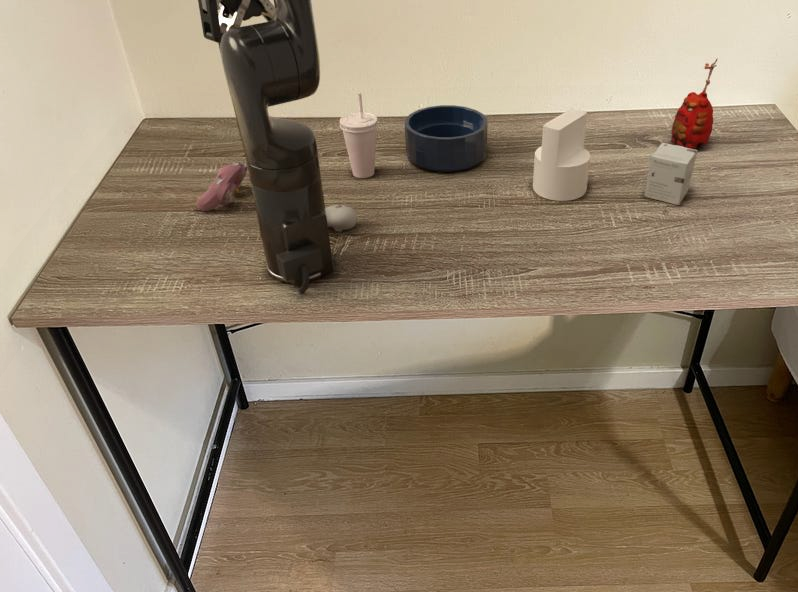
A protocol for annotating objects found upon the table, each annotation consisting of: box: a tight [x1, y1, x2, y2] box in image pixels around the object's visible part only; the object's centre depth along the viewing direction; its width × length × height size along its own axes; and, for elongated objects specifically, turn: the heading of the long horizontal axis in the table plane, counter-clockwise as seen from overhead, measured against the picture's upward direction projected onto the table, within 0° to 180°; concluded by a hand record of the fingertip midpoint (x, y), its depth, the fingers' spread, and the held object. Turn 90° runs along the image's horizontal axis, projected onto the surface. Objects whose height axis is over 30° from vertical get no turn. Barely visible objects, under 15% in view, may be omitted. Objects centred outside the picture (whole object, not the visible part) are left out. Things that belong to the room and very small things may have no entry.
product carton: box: [643, 142, 698, 206], centre depth 124 cm, size 6×6×7 cm
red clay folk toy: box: [670, 57, 719, 150], centre depth 136 cm, size 8×7×15 cm
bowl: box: [404, 104, 488, 173], centre depth 135 cm, size 14×14×6 cm
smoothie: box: [339, 92, 379, 179], centre depth 128 cm, size 6×6×14 cm
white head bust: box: [325, 204, 358, 233], centre depth 117 cm, size 4×8×5 cm
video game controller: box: [195, 160, 248, 212], centre depth 123 cm, size 10×5×7 cm, turn 168°
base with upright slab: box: [532, 107, 591, 202], centre depth 124 cm, size 9×9×12 cm
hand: (255, 60), depth 113 cm, fingers open, 8 cm apart
